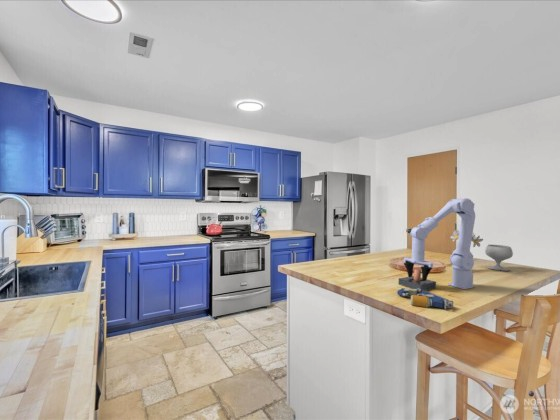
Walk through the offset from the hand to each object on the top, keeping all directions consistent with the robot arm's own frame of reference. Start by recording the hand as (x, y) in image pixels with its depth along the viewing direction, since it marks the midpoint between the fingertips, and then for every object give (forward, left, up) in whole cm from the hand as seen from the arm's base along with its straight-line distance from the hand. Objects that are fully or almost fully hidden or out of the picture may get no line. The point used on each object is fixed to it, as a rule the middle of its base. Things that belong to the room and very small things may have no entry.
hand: (417, 278), depth 138 cm
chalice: (-84, -1, -4) cm, 84 cm away
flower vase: (-58, -8, -4) cm, 59 cm away
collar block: (0, 0, -4) cm, 4 cm away
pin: (0, 0, -4) cm, 4 cm away
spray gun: (+18, +15, -4) cm, 24 cm away
